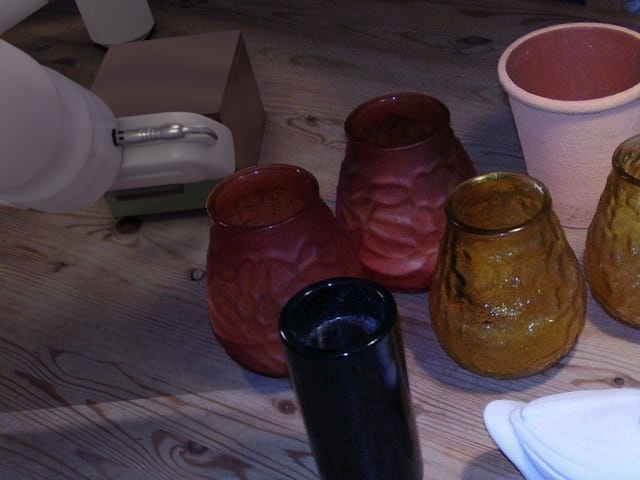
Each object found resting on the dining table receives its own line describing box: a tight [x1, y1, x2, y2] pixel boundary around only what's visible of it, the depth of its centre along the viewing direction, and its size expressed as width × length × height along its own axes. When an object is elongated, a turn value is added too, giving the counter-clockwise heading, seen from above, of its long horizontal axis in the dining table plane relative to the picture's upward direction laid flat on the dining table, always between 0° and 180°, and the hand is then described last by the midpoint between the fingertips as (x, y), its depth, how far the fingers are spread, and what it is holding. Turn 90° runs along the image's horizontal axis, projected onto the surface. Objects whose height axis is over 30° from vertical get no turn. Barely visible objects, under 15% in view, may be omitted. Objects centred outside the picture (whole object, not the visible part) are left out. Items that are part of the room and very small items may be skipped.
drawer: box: [102, 177, 227, 219], centre depth 90 cm, size 18×11×8 cm, turn 2°
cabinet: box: [89, 29, 267, 219], centre depth 93 cm, size 15×13×10 cm
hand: (130, 179), depth 80 cm, fingers open, 8 cm apart
